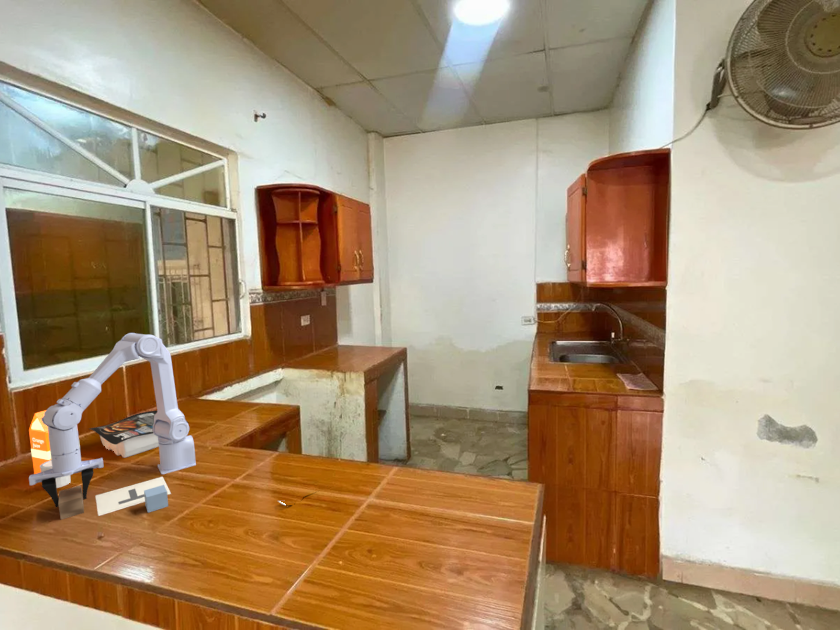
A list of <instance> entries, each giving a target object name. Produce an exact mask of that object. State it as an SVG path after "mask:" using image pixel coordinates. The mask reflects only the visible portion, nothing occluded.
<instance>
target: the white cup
mask: <svg viewBox="0 0 840 630" xmlns="http://www.w3.org/2000/svg"><path fill="white" fill-rule="evenodd" d="M40 469H41V472H43V471H46V470H49V469H52V460H49V461H47V462H44V463H43V464H41V465H40ZM71 476H72V475H68V476H62V477H58V478H56V488H57V489H58V488H62V487H65V486H67V485H70V484H71ZM69 483H70V484H69Z"/></svg>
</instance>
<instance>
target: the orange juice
mask: <svg viewBox="0 0 840 630" xmlns="http://www.w3.org/2000/svg"><path fill="white" fill-rule="evenodd" d="M46 410H47V409H45V410H41V411H37V412H34V415H33V418H32V420H31V423H30V426H29V429H28V432H29V441H30V451H31V452H30V453H31V460H32V466H33V474H37V473H40V472H41V469H40V465H41V464H43V463H44V462H47V461H49V460H51V452H50V444H49V433H48V426H46V425H45V424H44V423H43V422H42V418H43V416H44V413H45V411H46ZM77 429H78V426H77ZM79 446H80V447H81V445H80V443H79Z"/></svg>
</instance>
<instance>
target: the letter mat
mask: <svg viewBox="0 0 840 630" xmlns="http://www.w3.org/2000/svg"><path fill="white" fill-rule="evenodd" d="M162 485H164V486H165V488H166V490H167V496H168V495H172V493H171V490H170V488H169V487H168V484H167V483H166V481H165V478H164V477H163V476H160V477H156V478H153V479H149V480H145V481H142V482H139V483H135V484H132V485H129V486H124V487H120V488H118V489H117V488H116V489H114V490H111V491H107V492H103V493H99V494H96V495H95V502H96V503H95V504H96V510H97V516H98V517H99V516H104V515H106V514H110V513H113V512H116V511H119V510H123V509H125V508H129V507H132V506H136V505H138V504H142V503H145V495H144V491H145V490H148V489H151V488H155V487H158V486H162Z"/></svg>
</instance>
